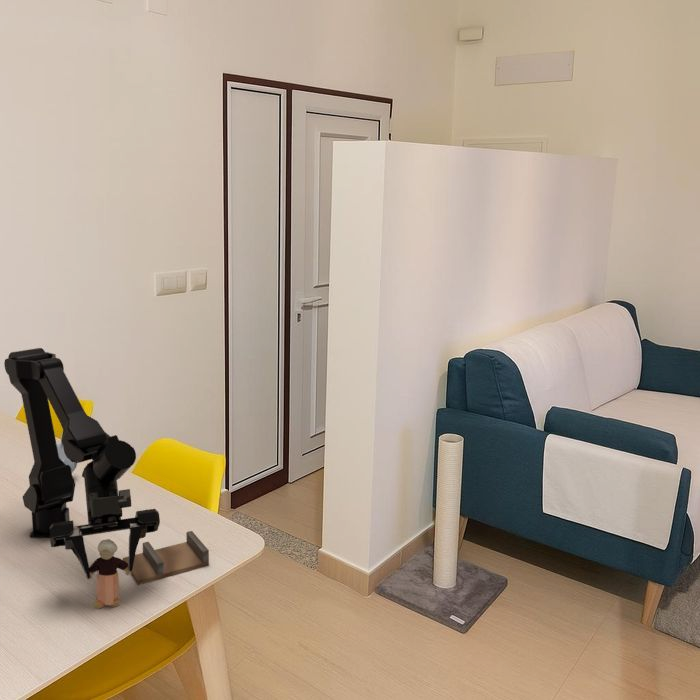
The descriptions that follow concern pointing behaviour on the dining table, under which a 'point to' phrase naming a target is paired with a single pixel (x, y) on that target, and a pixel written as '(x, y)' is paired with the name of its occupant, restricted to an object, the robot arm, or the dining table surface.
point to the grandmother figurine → (107, 574)
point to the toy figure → (63, 456)
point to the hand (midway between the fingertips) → (110, 574)
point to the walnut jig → (169, 559)
